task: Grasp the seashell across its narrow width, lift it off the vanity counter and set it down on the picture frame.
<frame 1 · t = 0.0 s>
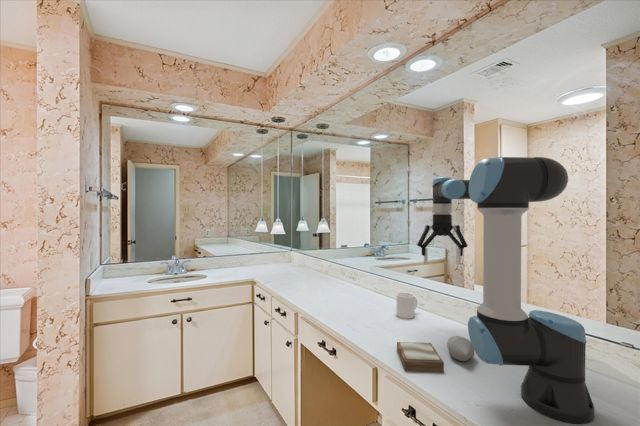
hand: (441, 263, 129), 28 cm above the counter, fingers open, 13 cm apart
mug: (408, 315, 146), on the counter
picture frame: (418, 360, 102), on the counter
seashell: (458, 355, 106), on the counter
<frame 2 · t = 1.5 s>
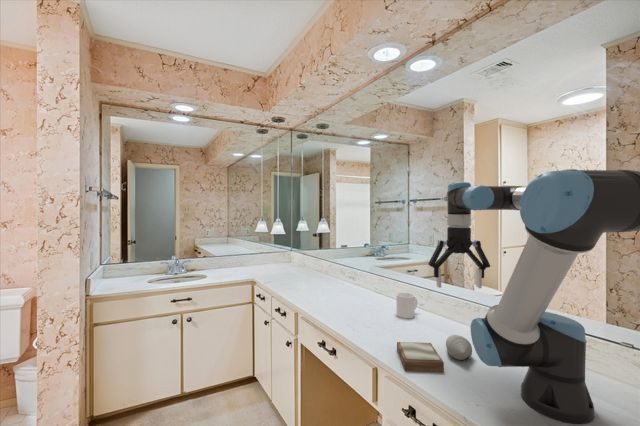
hand: (458, 287, 106), 24 cm above the counter, fingers open, 13 cm apart
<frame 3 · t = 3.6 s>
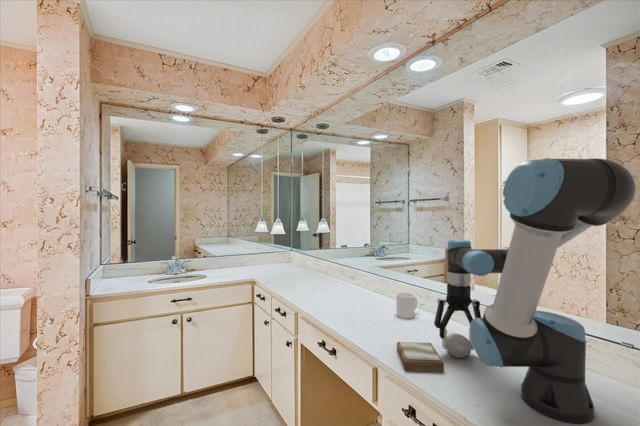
hand: (458, 347, 106), 2 cm above the counter, fingers open, 9 cm apart
seashell: (456, 352, 108), on the counter, touching gripper
everything else where it was.
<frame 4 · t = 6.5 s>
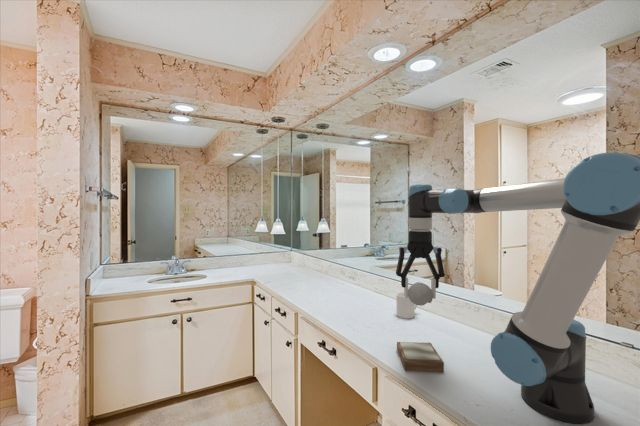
hand: (419, 297, 102), 21 cm above the counter, fingers closed on seashell, 8 cm apart
seashell: (418, 302, 105), point 19 cm above the counter, touching gripper
everything else where it was.
when the fingers open (7 cm above the counter, at t = 9.2 s): seashell drops 1 cm, resting on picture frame.
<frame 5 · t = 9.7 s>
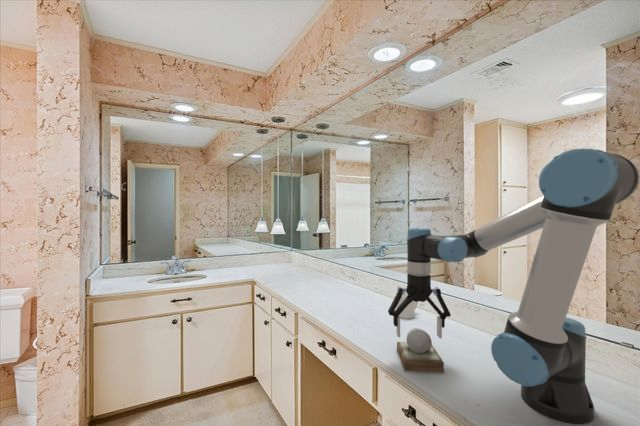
hand: (418, 336, 102), 8 cm above the counter, fingers open, 13 cm apart
seashell: (417, 348, 105), point 3 cm above the counter, touching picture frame
everything else where it was.
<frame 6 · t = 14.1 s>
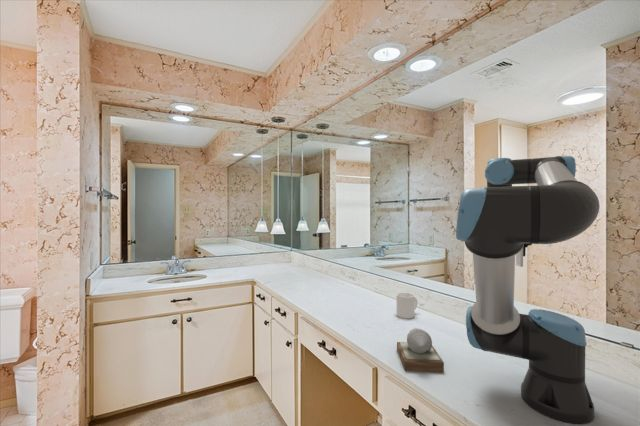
hand: (498, 265, 104), 32 cm above the counter, fingers open, 13 cm apart
nothing on the counter moved.
at the end: seashell inside the target area on the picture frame (2.2 cm from its centre), point 3.1 cm above the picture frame's base; the gripper is holding nothing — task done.
